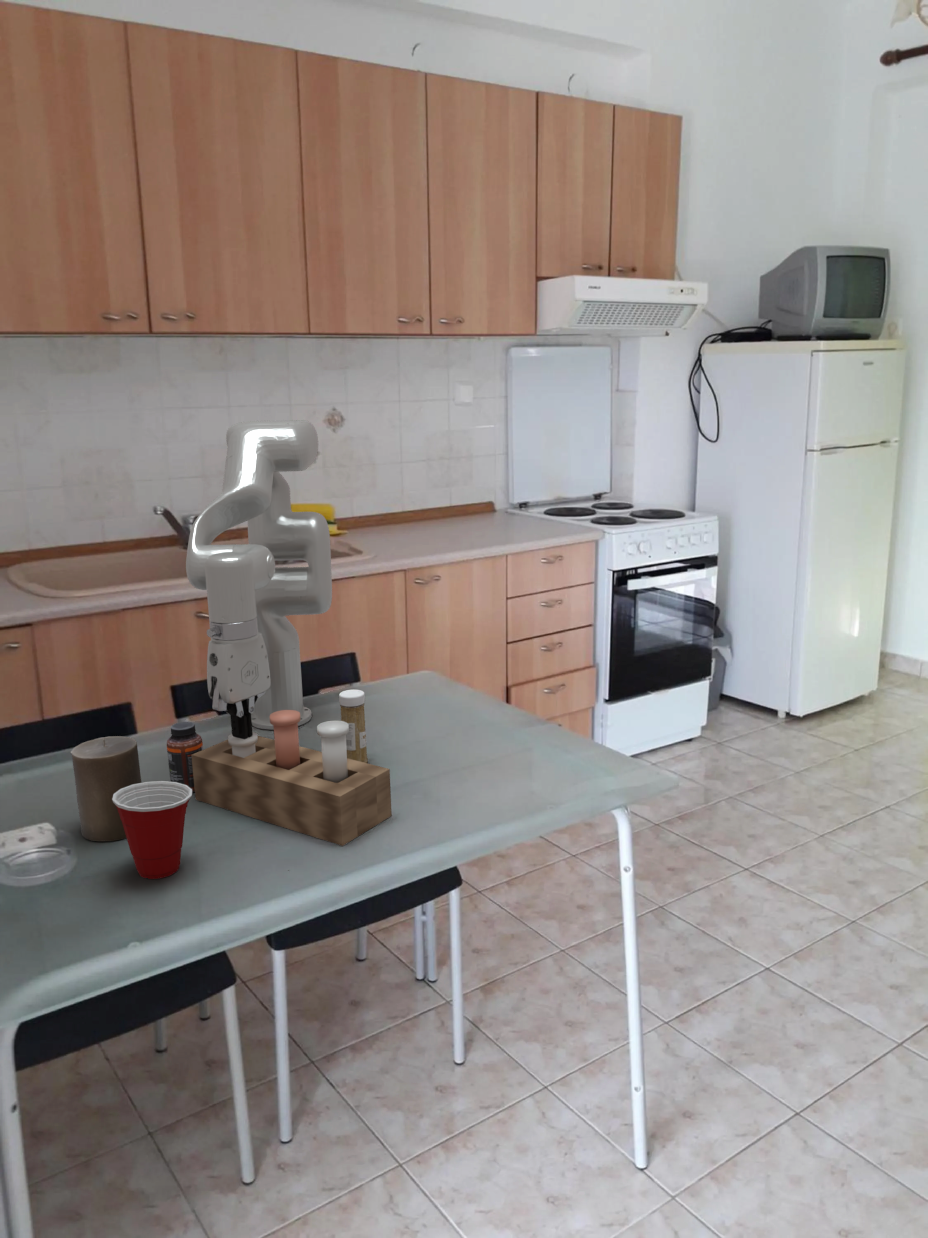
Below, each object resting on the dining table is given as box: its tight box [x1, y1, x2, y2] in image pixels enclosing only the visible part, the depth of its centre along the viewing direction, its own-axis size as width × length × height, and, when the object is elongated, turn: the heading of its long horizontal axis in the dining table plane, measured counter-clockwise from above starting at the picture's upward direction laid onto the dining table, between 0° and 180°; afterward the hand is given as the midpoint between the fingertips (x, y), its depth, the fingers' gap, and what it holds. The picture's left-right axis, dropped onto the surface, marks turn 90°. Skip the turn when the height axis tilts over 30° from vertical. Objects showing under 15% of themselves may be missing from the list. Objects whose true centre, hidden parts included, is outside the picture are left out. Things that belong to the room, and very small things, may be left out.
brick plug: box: [270, 710, 301, 770], centre depth 157 cm, size 5×5×10 cm
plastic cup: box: [112, 780, 193, 880], centre depth 139 cm, size 11×11×12 cm
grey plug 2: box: [316, 720, 349, 783], centre depth 152 cm, size 5×5×10 cm
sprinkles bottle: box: [338, 689, 369, 763], centre depth 176 cm, size 5×5×14 cm
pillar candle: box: [70, 735, 143, 842], centre depth 152 cm, size 10×10×15 cm
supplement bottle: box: [166, 721, 204, 793], centre depth 167 cm, size 6×6×11 cm
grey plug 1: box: [227, 730, 259, 758], centre depth 164 cm, size 5×5×10 cm
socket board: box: [191, 735, 392, 847], centre depth 159 cm, size 32×12×8 cm, turn 57°
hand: (242, 736), depth 162 cm, fingers closed
